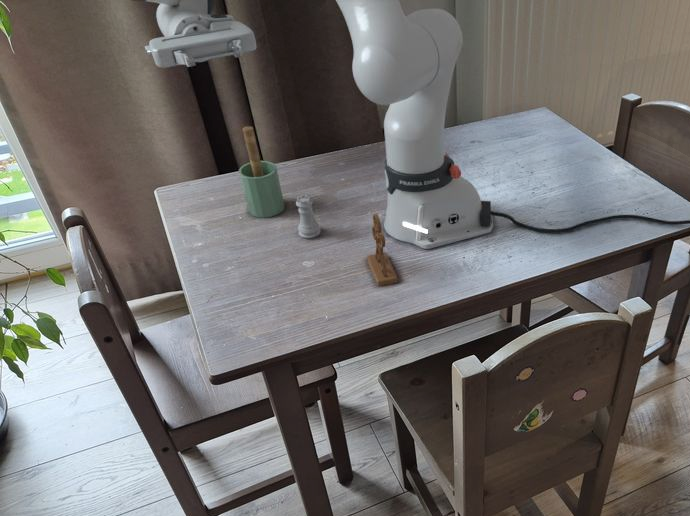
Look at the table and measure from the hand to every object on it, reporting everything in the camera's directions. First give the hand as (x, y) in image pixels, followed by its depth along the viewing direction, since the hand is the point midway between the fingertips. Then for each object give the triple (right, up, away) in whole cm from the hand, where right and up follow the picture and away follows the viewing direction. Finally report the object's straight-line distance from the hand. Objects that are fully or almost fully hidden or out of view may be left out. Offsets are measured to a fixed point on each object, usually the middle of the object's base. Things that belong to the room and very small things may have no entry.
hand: (215, 57), depth 123 cm
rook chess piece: (+17, -33, +5) cm, 38 cm away
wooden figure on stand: (+33, -42, -4) cm, 54 cm away
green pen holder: (+6, -27, +12) cm, 30 cm away
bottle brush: (+6, -26, +11) cm, 29 cm away
